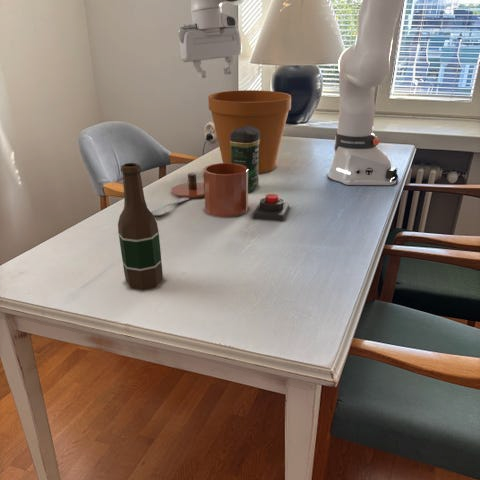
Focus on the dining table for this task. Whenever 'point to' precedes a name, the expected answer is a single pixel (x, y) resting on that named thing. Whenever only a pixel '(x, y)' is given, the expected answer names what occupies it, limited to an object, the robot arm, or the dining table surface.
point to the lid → (189, 188)
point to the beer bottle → (138, 234)
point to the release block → (271, 210)
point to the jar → (226, 189)
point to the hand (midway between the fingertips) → (215, 76)
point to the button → (272, 198)
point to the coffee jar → (246, 152)
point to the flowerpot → (251, 120)
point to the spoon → (161, 209)
